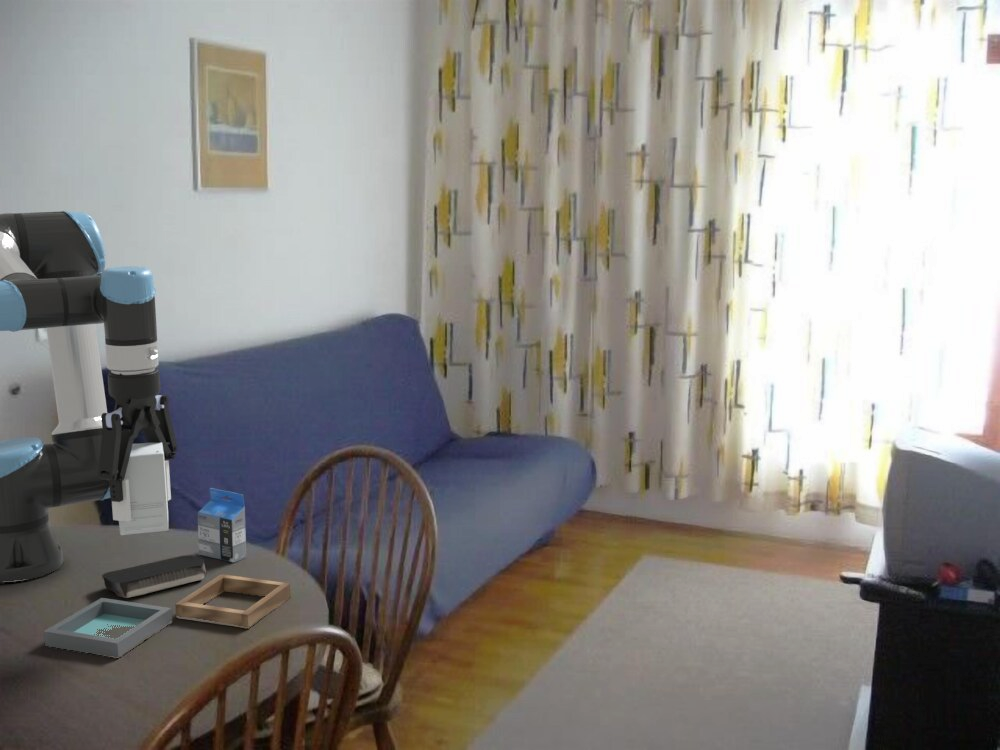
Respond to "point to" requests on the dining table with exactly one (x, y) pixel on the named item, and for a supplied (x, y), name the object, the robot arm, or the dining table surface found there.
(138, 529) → the supplement box
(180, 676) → the dining table surface
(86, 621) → the grey teal square tray
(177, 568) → the black scrub brush
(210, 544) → the label tape box
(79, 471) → the robot arm
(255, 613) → the wooden picture frame
